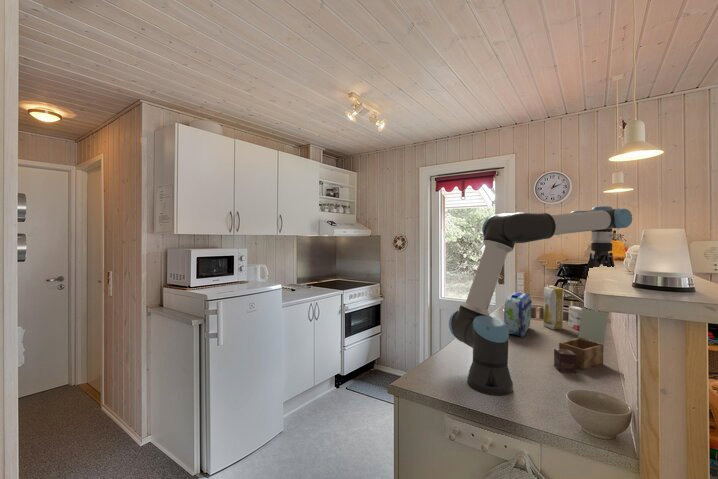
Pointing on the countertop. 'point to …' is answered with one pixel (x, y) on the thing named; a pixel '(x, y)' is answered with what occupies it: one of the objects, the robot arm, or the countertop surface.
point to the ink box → (574, 317)
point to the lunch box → (518, 313)
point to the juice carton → (553, 307)
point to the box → (565, 360)
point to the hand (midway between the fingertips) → (600, 290)
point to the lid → (593, 325)
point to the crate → (584, 352)
